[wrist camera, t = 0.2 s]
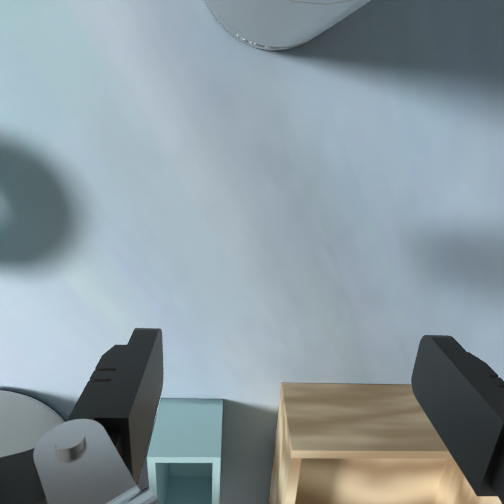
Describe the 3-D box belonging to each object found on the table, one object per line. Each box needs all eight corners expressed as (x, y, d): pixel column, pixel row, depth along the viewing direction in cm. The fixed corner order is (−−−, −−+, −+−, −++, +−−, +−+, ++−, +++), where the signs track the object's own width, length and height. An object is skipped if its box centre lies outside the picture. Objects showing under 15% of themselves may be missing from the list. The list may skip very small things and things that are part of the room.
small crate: (161, 398, 35) (146, 457, 29) (222, 399, 35) (220, 457, 29) (164, 474, 38) (152, 539, 33) (220, 474, 39) (218, 538, 33)
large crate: (281, 382, 34) (291, 450, 28) (474, 385, 35) (527, 451, 29) (267, 513, 41) (273, 591, 35) (428, 512, 42) (463, 588, 36)
